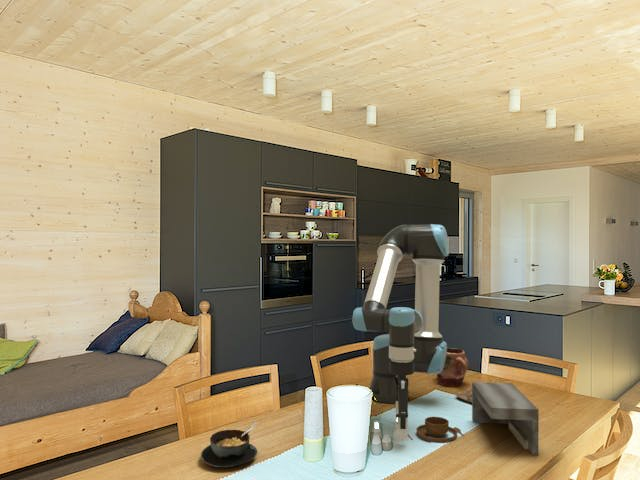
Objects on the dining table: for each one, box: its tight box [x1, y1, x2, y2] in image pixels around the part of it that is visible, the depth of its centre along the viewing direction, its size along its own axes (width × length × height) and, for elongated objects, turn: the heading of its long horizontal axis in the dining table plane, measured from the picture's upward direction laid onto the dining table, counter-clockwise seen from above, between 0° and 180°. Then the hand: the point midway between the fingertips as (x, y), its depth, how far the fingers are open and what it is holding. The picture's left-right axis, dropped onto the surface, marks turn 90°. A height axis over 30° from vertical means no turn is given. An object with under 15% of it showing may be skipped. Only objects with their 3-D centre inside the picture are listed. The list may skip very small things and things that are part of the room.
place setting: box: [407, 416, 465, 443], centre depth 156 cm, size 18×20×6 cm
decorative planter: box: [436, 347, 470, 387], centre depth 205 cm, size 20×12×14 cm, turn 20°
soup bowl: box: [200, 421, 260, 468], centre depth 136 cm, size 15×16×7 cm
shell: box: [455, 388, 472, 405], centre depth 184 cm, size 12×13×4 cm
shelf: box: [471, 381, 540, 457], centre depth 150 cm, size 12×26×12 cm, turn 174°
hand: (401, 430), depth 152 cm, fingers open, 13 cm apart
